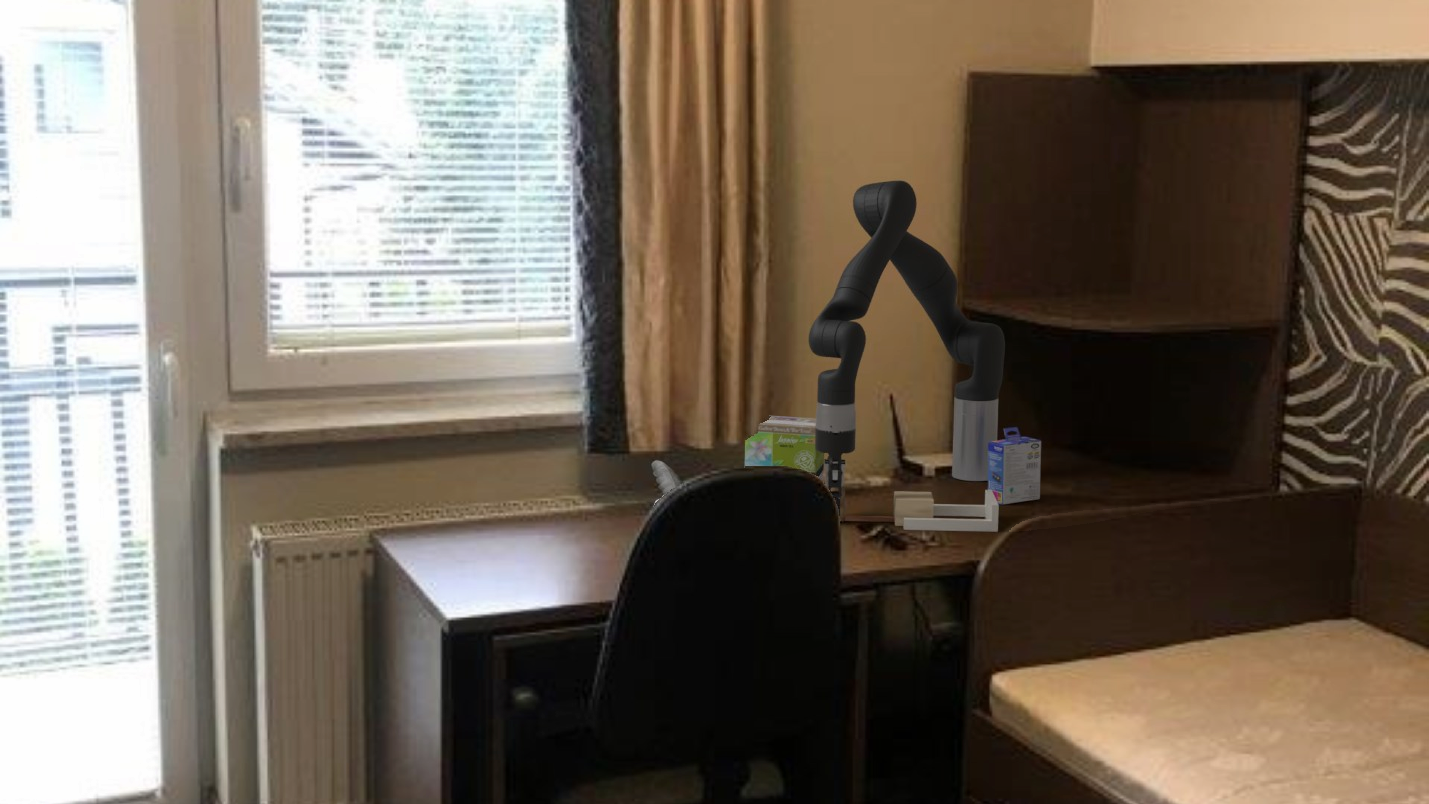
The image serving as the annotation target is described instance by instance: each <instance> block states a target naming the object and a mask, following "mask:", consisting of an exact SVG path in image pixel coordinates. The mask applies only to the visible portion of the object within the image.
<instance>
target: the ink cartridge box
mask: <svg viewBox="0 0 1429 804" xmlns="http://www.w3.org/2000/svg"><path fill="white" fill-rule="evenodd" d="M1002 430H1003V433H1004V438H1005V439H999V440H998V439H997V441H990V442H988V481H987V490H992V492H993V494H994V496H995V498H996V501H997V503H998V505H1011V504H1015V503H1023V502H1029V501H1035V500H1040V498H1041V465H1042V464H1041V459H1042V457H1041V456H1042V455H1041V454H1042V440H1041V439H1037V438H1034V437H1031V436H1030V437H1028V436H1021V433H1020V431H1019V429H1018V427H1017V426H1014V427H1005V428H1003V429H1002ZM1009 432H1015V433H1016V434H1008V433H1009Z"/></svg>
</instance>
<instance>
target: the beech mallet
mask: <svg viewBox="0 0 1429 804" xmlns="http://www.w3.org/2000/svg"><path fill="white" fill-rule="evenodd" d="M831 491H839V488H831ZM841 493H842V497H841V499H840V519H841V521H842V522H879V523H880V522H882V523H883V522H884V523H894V526H895V527H904V518H934V516H933V509H934V504H935V503H934V502H935V499H934V497H933V493H932V492H931V491H903V490H901V491H898V490H897V491H896V490H895V491H893V515H892V516H891V515H889V516H887V515H886V516H885V515H884V516H882V515H849V514H848V515H846V513H845V510H846V509H845V508H846V507H845V506H846V488H845V487H843V486H842V487H841ZM842 522H841V523H842Z"/></svg>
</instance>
